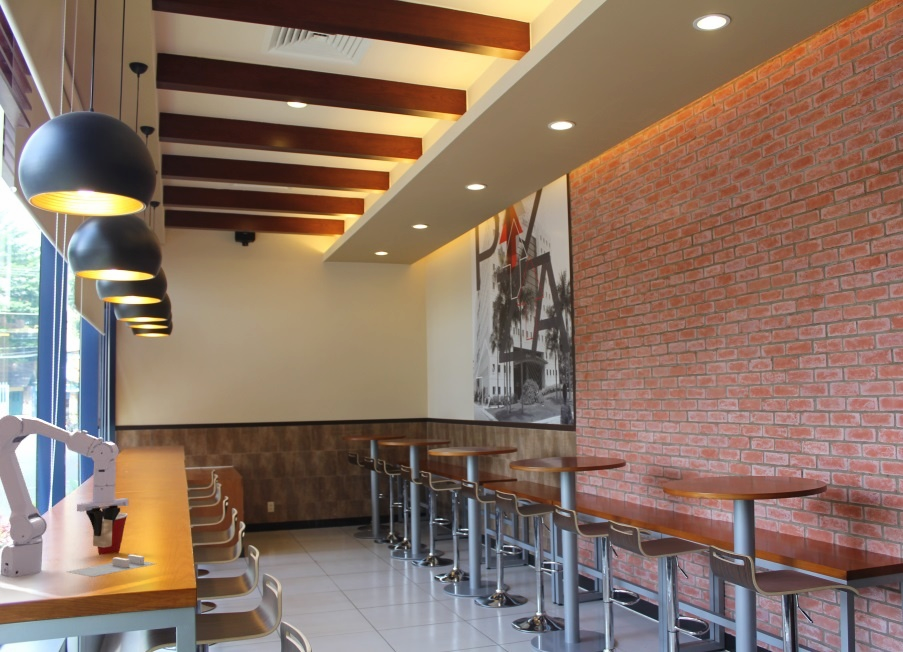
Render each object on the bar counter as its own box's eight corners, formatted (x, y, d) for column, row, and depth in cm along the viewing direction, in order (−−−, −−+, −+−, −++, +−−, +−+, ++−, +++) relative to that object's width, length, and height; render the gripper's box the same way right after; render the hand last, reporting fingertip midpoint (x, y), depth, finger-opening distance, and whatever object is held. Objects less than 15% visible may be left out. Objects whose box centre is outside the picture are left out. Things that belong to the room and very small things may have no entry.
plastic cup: (91, 552, 249) (92, 513, 250) (128, 549, 252) (129, 511, 253) (86, 559, 238) (87, 518, 239) (125, 556, 242) (126, 517, 242)
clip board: (92, 580, 209) (92, 569, 210) (66, 575, 216) (66, 564, 216) (156, 567, 226) (156, 556, 226) (130, 562, 233) (130, 552, 233)
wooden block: (103, 547, 216) (104, 521, 217) (93, 545, 219) (93, 520, 220) (111, 546, 218) (112, 520, 219) (100, 544, 221) (101, 518, 222)
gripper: (88, 488, 212) (86, 540, 211) (135, 483, 224) (134, 532, 223) (73, 487, 216) (71, 537, 215) (120, 482, 228) (119, 530, 227)
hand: (102, 534), depth 219 cm, fingers closed on wooden block, 2 cm apart
